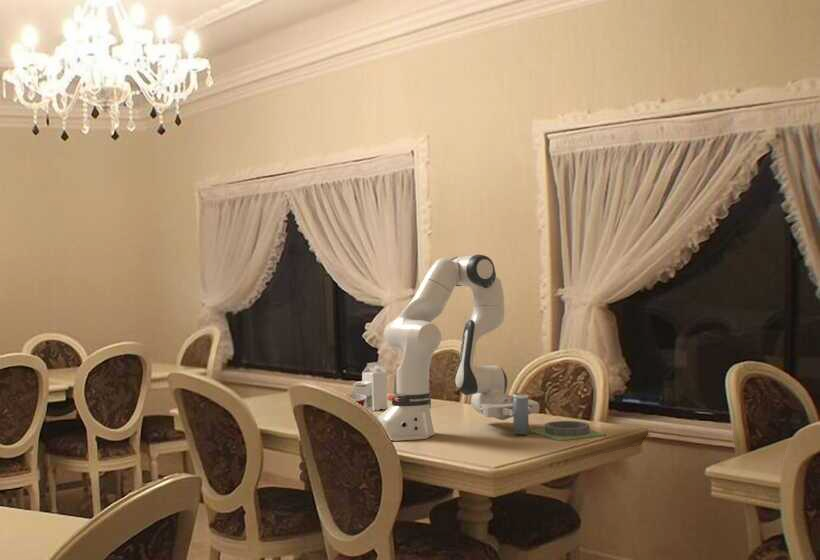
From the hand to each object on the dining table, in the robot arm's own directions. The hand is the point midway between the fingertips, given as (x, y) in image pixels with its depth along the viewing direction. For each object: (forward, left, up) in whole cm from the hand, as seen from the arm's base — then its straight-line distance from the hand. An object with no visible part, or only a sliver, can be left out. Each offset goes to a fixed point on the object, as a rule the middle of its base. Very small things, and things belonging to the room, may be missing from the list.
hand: (522, 412), depth 284 cm
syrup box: (-36, +55, -8) cm, 66 cm away
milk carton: (-22, +78, -8) cm, 81 cm away
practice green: (+14, -5, -8) cm, 17 cm away
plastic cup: (-46, +40, -8) cm, 61 cm away
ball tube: (0, +1, -7) cm, 7 cm away
